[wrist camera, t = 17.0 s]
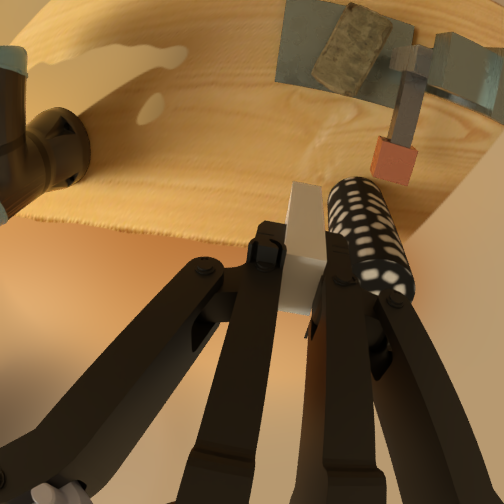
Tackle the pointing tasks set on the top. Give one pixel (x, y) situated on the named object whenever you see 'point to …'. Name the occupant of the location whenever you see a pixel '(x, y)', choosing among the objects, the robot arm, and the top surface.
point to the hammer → (403, 115)
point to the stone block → (352, 49)
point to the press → (380, 75)
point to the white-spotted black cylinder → (369, 236)
